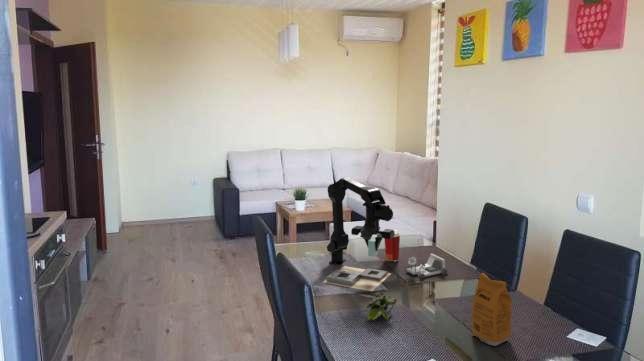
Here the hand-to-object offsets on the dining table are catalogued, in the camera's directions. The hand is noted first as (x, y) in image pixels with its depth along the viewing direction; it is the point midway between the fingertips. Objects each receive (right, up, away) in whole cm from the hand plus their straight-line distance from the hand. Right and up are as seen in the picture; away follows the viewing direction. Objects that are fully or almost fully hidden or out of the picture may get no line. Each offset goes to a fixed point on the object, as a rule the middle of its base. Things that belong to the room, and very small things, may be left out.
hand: (373, 250), depth 231 cm
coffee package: (+34, -22, -55) cm, 69 cm away
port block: (-13, -14, -1) cm, 19 cm away
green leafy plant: (0, -20, -37) cm, 43 cm away
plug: (0, -2, 0) cm, 2 cm away
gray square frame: (0, -12, +2) cm, 13 cm away
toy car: (+24, -12, +5) cm, 27 cm away
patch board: (-7, -13, 0) cm, 15 cm away
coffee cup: (+12, -8, +22) cm, 26 cm away
